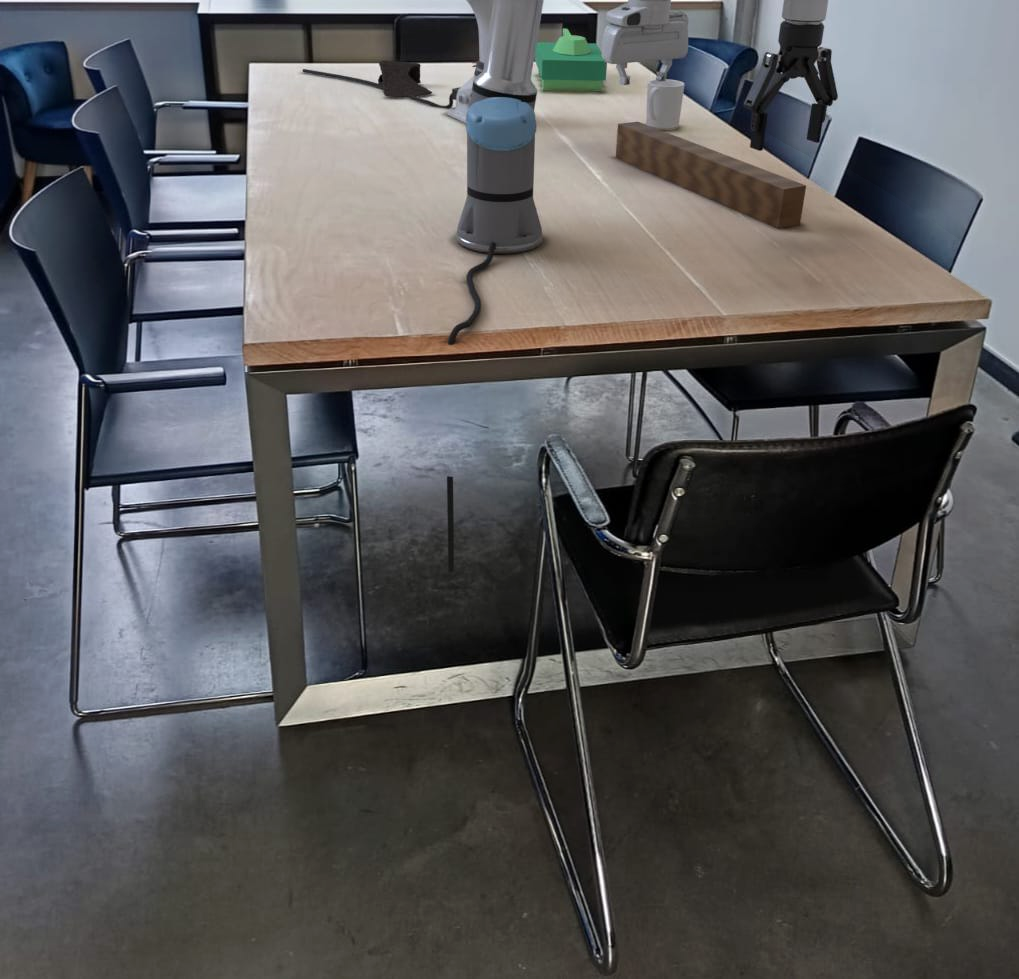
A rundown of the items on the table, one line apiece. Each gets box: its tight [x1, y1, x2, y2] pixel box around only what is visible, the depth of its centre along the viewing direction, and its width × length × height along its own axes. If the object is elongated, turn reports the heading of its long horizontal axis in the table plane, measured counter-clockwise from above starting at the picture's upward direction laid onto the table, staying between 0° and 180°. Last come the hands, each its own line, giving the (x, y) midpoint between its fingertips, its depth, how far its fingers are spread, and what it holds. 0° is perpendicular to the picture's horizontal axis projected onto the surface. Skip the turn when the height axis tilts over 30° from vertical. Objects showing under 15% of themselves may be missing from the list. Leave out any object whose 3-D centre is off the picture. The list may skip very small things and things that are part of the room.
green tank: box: [534, 28, 608, 92], centre depth 314 cm, size 18×12×35 cm
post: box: [615, 121, 807, 229], centre depth 224 cm, size 55×5×8 cm, turn 29°
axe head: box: [377, 59, 433, 99], centre depth 299 cm, size 18×8×15 cm
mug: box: [645, 78, 685, 131], centre depth 268 cm, size 11×9×10 cm
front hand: (784, 145), depth 202 cm, fingers open, 13 cm apart
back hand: (642, 82), depth 235 cm, fingers open, 8 cm apart
